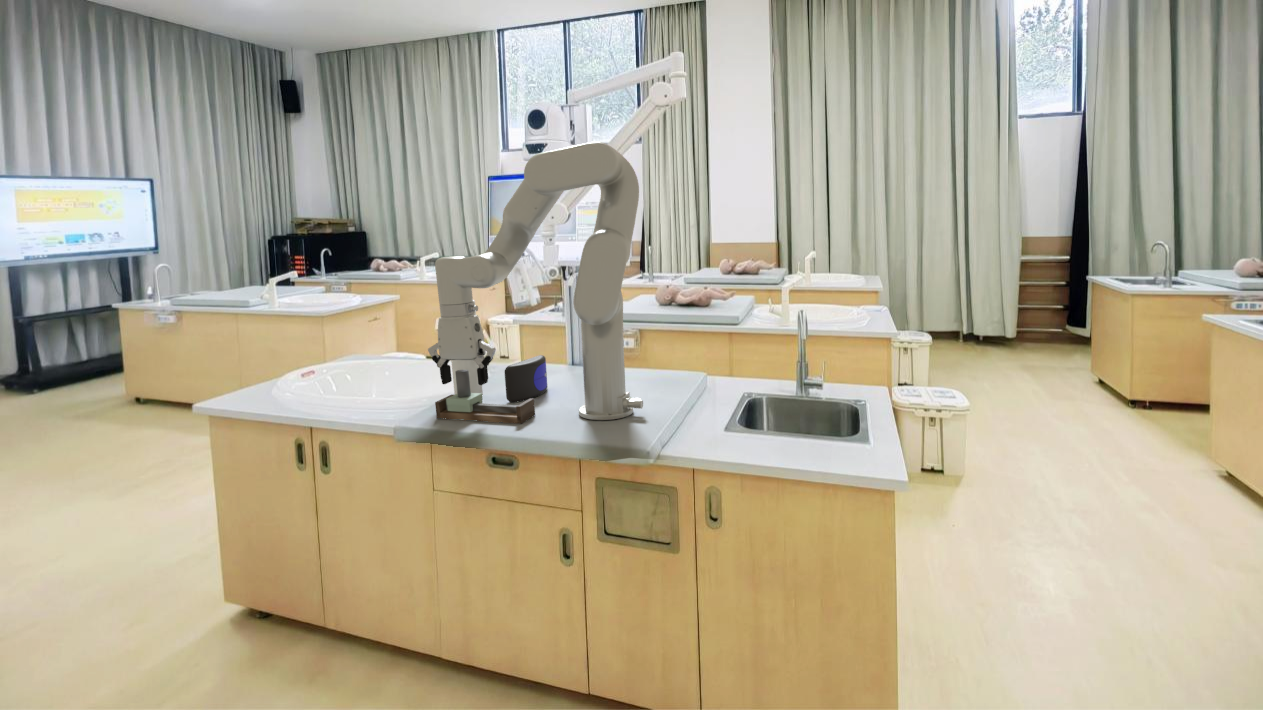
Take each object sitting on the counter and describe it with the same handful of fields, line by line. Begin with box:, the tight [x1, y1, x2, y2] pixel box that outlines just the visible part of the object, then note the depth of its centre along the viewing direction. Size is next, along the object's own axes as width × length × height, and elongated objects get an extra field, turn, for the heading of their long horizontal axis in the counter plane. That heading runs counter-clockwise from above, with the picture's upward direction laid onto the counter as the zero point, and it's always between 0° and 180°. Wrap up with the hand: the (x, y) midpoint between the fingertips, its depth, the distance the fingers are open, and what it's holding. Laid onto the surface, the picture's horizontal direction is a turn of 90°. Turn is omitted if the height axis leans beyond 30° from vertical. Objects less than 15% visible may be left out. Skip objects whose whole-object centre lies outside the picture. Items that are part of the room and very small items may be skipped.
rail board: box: [434, 394, 536, 425], centre depth 170 cm, size 22×7×4 cm, turn 72°
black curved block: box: [504, 354, 548, 403], centre depth 187 cm, size 16×5×9 cm, turn 151°
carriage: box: [446, 370, 483, 412], centre depth 170 cm, size 6×6×9 cm
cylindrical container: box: [450, 299, 484, 396], centre depth 187 cm, size 7×7×25 cm
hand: (465, 383), depth 170 cm, fingers open, 9 cm apart
